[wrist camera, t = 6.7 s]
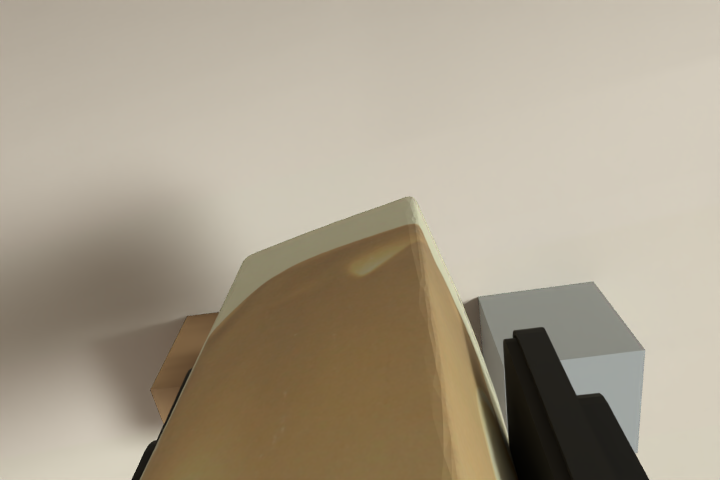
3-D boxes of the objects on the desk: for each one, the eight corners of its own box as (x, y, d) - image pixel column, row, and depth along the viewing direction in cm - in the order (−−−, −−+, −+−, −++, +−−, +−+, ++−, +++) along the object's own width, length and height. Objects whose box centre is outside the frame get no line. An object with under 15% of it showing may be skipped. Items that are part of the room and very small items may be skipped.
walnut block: (296, 301, 25) (283, 373, 20) (316, 389, 27) (308, 472, 23) (187, 315, 25) (150, 390, 21) (216, 401, 27) (187, 485, 23)
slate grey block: (592, 280, 24) (644, 349, 20) (590, 371, 27) (637, 453, 22) (477, 295, 25) (503, 367, 20) (484, 384, 27) (509, 466, 22)
